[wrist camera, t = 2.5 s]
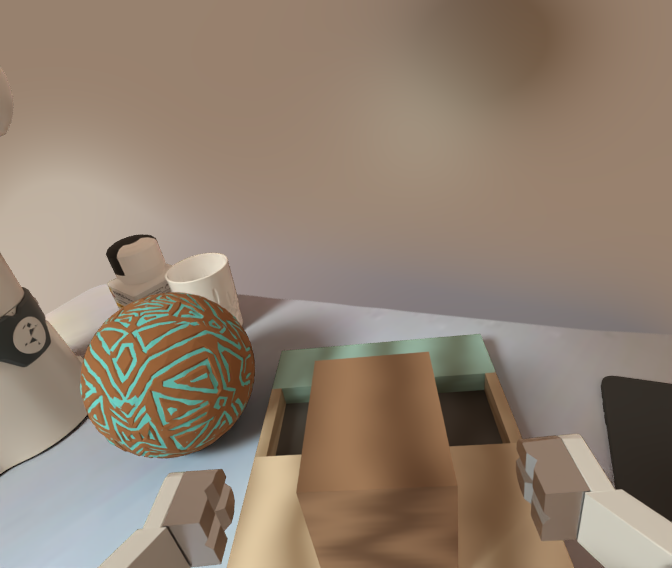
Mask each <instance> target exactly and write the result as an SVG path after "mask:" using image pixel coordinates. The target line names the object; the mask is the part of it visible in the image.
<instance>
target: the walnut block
mask: <svg viewBox="0 0 672 568" xmlns="http://www.w3.org/2000/svg"><path fill="white" fill-rule="evenodd" d="M296 494H297V497H298V500H299V503H300V506H301V509H302V512H303V515H304V518H305V522H306V525H307V528H308V531H309V534H310V537H311V540H312V543H313V546H314V549H315V552H316V555H317V558H318V562H319V565H320V568H458V484H457V480H456V475H455V471H454V466H453V461H452V457H451V452H450V447H449V443H448V438H447V433H446V429H445V424H444V419H443V415H442V410H441V405H440V401H439V396H438V392H437V387H436V382H435V378H434V373H433V368H432V364H431V359H430V354H429V352H418V353H406V354H393V355H381V356H369V357H357V358H345V359H332V360H320V361H315V364H314V371H313V378H312V385H311V392H310V399H309V406H308V413H307V420H306V427H305V434H304V441H303V448H302V455H301V462H300V469H299V476H298V483H297V490H296Z"/></svg>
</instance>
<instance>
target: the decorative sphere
mask: <svg viewBox="0 0 672 568" xmlns="http://www.w3.org/2000/svg"><path fill="white" fill-rule="evenodd" d="M254 376H255V361H254V354H253V350H252V346H251V343H250V341H249V338H248V336H247V334H246V332H245V331H244V329H243V327H242V326H241V325H240V323H239V322H238V321H237V319H236V317H235V316H233V315H232V314H231V313H230V312H228V311H227V310H226V309H225V308H223V307H221V306H220V305H219V304H217V303H215V302H213V301H211V300H208V299H207V298H205V297H202V296H199V295H194V294H188V293H181V292H167V293H159V294H156V295H150V296H147V297H144V298H141V299H139V300H136V301H134V302H131V303H130V304H128V305H126V306H124V307H123V308H121V309H120V310H119V311H117V312H116V313H115V314H113V315H112V316H111V317H110V318H109V319H108V320H106V321H105V322H104V323H103V325H102V326H101V328H100V329H99V330H98V331H97V332H96V334H95V335H94V337H93V339H92V340H91V344H90V345H89V346H88V348H87V351H86V353H85V356H84V360H83V363H82V367H81V382H80V391H81V396H82V398H83V402H84V406H85V409H86V412H87V414H88V416H89V419H90V420H91V421H92V423H93V424H94V425H95V427H96V429H97V430H98V431H99V432H100V433H101V434H103V435H104V436H105V437H106V438H107V440H108V441H109V442H110V443H111V444H113V445H115V446H117V447H118V448H120V449H122V450H124V451H128V452H130V453H133V454H135V455H138V456H141V455H142V456H144V457H149V458H153V457H157V458H174V457H179V456H184V455H188V454H190V453H193V452H196V451H199V450H201V449H203V448H205V447H207V446H209V445H210V444H212V443H214V442H215V441H216V440H217V439H218V438H220V437H221V436H222V435H223V434H225V433H226V432H227V431H228V430H229V429H231V427H232V426H233V425H234V424H235V422H236V421H237V420H238V418H239V417H240V415H241V414H242V412H243V411H244V409H245V407H246V405H247V403H248V400H249V398H250V396H251V392H252V386H253V384H254Z"/></svg>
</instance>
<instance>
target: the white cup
mask: <svg viewBox="0 0 672 568" xmlns="http://www.w3.org/2000/svg"><path fill="white" fill-rule="evenodd" d="M165 278H166V280H167V282H168V285H169V287H170V289H171V291H172V292H181V293H188V294H194V295H199V296H202V297H205V298H207V299H208V300H211V301H213V302H215V303H217V304H219V305H220V306H221V307H223V308H225V309H226V310H227V311H228V312H230V313H231V314H232V315H233V316H235V317H236V319H237V321H238V322H239V323H240V325H241V326H242V325H243V320H242V316H241V313H240V309H239V302H238V298H237V293H236V289H235V286H234V282H233V278H232V274H231V270H230V266H229V263H228V259H227V257H226V256H225V255H223V254H219V253H204V254H199V255H195V256H192V257H189V258H186V259H184V260H182V261H180V262H178V263H176V264H174V265H173V266H172V267H170V268H169V269H168V271H167V272H166V274H165Z"/></svg>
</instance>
